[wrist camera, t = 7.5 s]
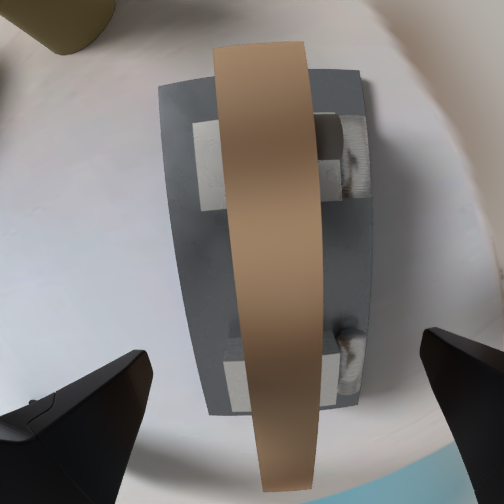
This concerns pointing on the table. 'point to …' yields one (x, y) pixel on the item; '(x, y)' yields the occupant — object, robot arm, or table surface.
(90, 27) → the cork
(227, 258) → the plate
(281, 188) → the cabinet door
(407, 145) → the table surface
